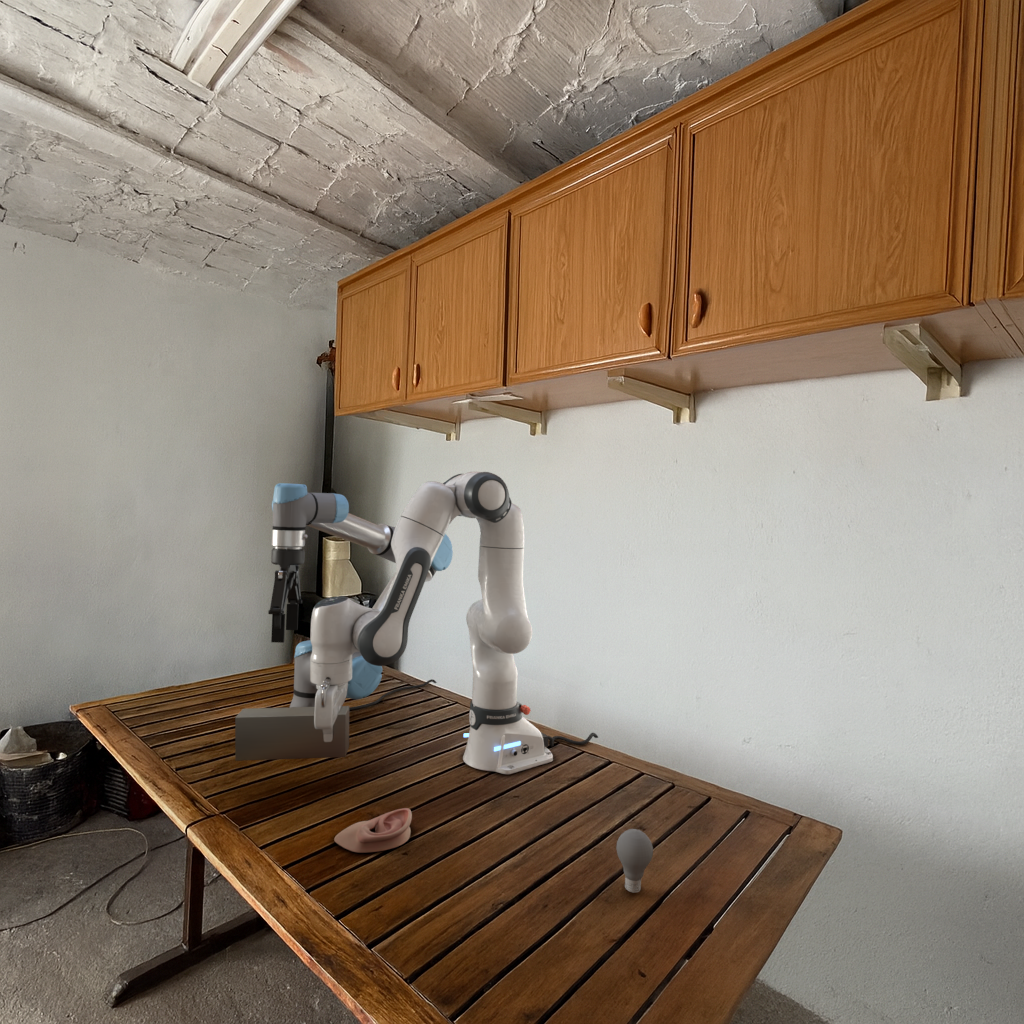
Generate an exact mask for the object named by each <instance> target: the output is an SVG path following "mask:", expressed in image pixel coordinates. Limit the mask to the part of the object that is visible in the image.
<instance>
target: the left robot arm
mask: <svg viewBox="0 0 1024 1024" xmlns="http://www.w3.org/2000/svg"><path fill="white" fill-rule="evenodd" d="M273 489H274V490H273V498H272V501H271V510H272V530H271V546H272V547H273V548H272V549H271V553H270V554H271V555H270V562H271V564H272V565H276V566H277V565H278V566H279V569H278V570H275V571H274V580H273V587H272V594H271V601H270V605H269V609H268V612H267V613H268V615H271V639H270V642H271V643H277V644H278V643H283V644H284V643H285V633H286V631H298V628H299V606H300V605H299V604H303V599H302V595H301V582H300V566H301V565H304V563H305V555H306V554H305V553H306V552H305V551H306V549H304V548H303V547H305V546H306V545H305V544H306V539H308V537H309V536H308V534H307V533H306V529H307V528H306V527H309V528H312V529H315V530H317V531H320V532H323V533H325V534H328V535H331V536H334V537H337V538H339V539H342V540H345V541H347V542H350V543H352V544H356V545H359V546H360V547H363V548H365V549H367V550H368V551H369V553H370V554H373V555H375V556H378V557H380V558H383V559H385V560H387V561H390V562H392V563H394V564H396V560H395V556H394V553H393V551H392V547H391V541H392V537H393V533H394V530H395V527H396V526H391V525H388V524H385V523H378V524H377V523H374V522H371V521H370V520H367V519H365V518H362V517H359V516H356V515H355V514H353V513H350V504H349V501H348V499H347V497H346V496H345V495H343V494H341V493H335V492H328V493H327V492H308V487H307V485H306V484H303V483H286V482H284V483H283V482H278V483H276V484H275V486H274V488H273ZM453 555H454V552H453V544H452V541H451V539H450V538H449V536H448V535H447V533H445V535H444V538H443V540H442V542H441V544H440V546H439V548H438V550H437V552H436V554H435V557H434V559H433V561H432V564H431V566H430V569H429V571H428V574H427V577H426V580H425V583H426V582H427V583H428V582H430V581H432V579H433V578H434V576H435V574H436V572H442V571H445V570H446V569H448V568H449V567H450V566H451V563H452V560H453ZM395 575H396V571H395V572H394V573H393V575H392V577H391V578H390V580H389V581H388V583H387V584H386V586H385V587H384V589H383V591H382V592H381V593H380V595H379V597H378V598H377V599H376V602H375V603H374V605H373V606H372V609H377V610H379V611H381V609H382V607H383V605H384V602H385V600H386V598H387V595H388V593H389V590H390V588H391V586H392V583H393V581H394V578H395ZM285 610H286V613H285ZM294 651H295V652H294V655H293V658H294V672H293V673H294V674H293V695H292V696H293V697H292V699H291V702H290V704H289V707H315V697H316V693H317V691H318V689H317V688H316V684H314V683H312V682H311V681H310V658H311V654H312V644H311V640H310V639H308V640H304V641H300V642H299V643H298V644H297V645H296V646H295V650H294ZM382 673H383V666H376V665H372V664H370V663H368V662H367V661H366V660H365V659H364V658H363V657H362V655H361V653H360V652H355V653H353V655H352V679H351V680H350V681H348V688H347V695H346V699H351V700H362V699H365V698H367V697H369V696H370V695H371V694H373V693H374V692H375V691H376V690H377V688H378V687H379V685H380V683H381V681H382V677H383V675H382ZM430 683H433V684H437V683H438V682H437V681H436V680H435V679H431V678H430V679H429V680H427V681H425V682H424V683H421V684H416V685H409V686H408V685H407V686H403V687H399V688H395V689H391V690H389V691H388V692H386V693H384V694H383V695H381V696H380V697H379V698H378V699H376V700H375V701H372V702H368V703H366V704H362V705H357V706H349V711H353V710H359V709H364V708H368V707H372V706H374V705H376V704H378V703H380V702H381V701H382V700H383V699H384V698H385V697H387V696H390V695H391V694H394V693H397V692H400V691H404V690H405V691H406V690H410V689H417V688H423V687H425V686H427V685H428V684H430Z"/></svg>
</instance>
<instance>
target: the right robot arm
mask: <svg viewBox="0 0 1024 1024" xmlns="http://www.w3.org/2000/svg"><path fill="white" fill-rule="evenodd" d="M509 492H510V491H509V489H508V485H507V484H506V483H505V481H504V479H502V478H501V476H499V475H498V474H495V473H493V472H489V471H468V472H465V473H458V474H455V475H453V476H451V477H450V478H448V479H447V480H446V481H444V482H443V483H442V482H440V481H435V480H434V481H433V480H430V481H429V480H428V481H425V482H423V483H421V484H420V485H419V487H418V488H417V489H416V490H415V492H414V493H413V494H412V496H411V497H410V499H409V500H408V502H407V504H406V505H405V507H404V509H403V510H402V512H401V515H400V517H399V519H398V520H397V523H396V525H395V526H394V527H395V530H394V533H393V537H392V541H391V547H392V551H393V553H394V556H395V560H396V563H395V568H396V569H395V572H396V575H395V578H394V581H393V583H392V586H391V588H390V590H389V593H388V595H387V598H386V600H385V602H384V605H383V607H382V609H381V611H379V610H377V609H372V608H373V607H372V608H371V607H367V606H364V605H362V604H359V603H357V602H355V601H353V600H352V599H351V598H349V597H348V596H345V595H339V596H331V597H327V598H323V599H321V600H320V601H318V602H317V603H316V604H315V605H314V607H313V609H312V612H311V618H310V639H309V640H311V644H312V654H311V658H310V681H311V682H312V683H314V684H316V688H317V689H318V691H317V693H316V697H315V712H314V726H315V729H322V730H323V734H324V742H331V741H332V739H333V725H334V723H335V720H336V718H337V716H338V713H339V711H340V709H341V707H342V706H344V703H345V701H346V699H347V698H346V695H347V688H348V681H350V680H351V679H352V655H353V653H355V652H360V653H361V655H362V657H363V658H364V659H365V660H366V661H367V662H368V663H370V664H372V665H376V666H382V667H385V666H389V665H392V664H393V663H395V662H397V661H398V660H399V659H400V658H401V657H402V656H403V654H404V653H405V652H406V649H407V645H408V639H409V625H410V621H411V618H412V616H413V612H414V611H415V608H416V606H417V603H418V600H419V598H420V595H421V593H422V590H423V589H424V585H425V583H426V582H425V580H426V577H427V574H428V571H429V569H430V566H431V564H432V561H433V559H434V557H435V554H436V552H437V550H438V548H439V546H440V544H441V542H442V540H443V538H444V535H445V534H447V531H448V528H449V526H450V525H451V523H452V522H453V521H454V519H456V518H457V517H463V518H469V519H476V520H477V523H478V525H479V530H480V531H479V532H480V536H479V537H480V538H479V545H478V546H479V547H478V548H479V549H478V567H477V579H478V583H479V585H480V591H481V597H482V598H481V599H478V600H476V601H474V602H473V603H472V604H471V605H470V607H469V608H468V610H467V612H466V617H465V618H466V619H465V620H466V625H467V628H468V635H469V645H470V653H471V654H470V655H471V661H472V690H471V692H472V693H471V694H472V696H471V697H472V698H471V701H470V702H469V715H468V719H469V721H468V722H469V731H468V732H467V733H463V738H467V742H466V746H465V750H464V753H463V756H462V760H463V763H465V765H467V766H469V767H471V768H474V769H477V770H480V771H487V772H495V773H499V774H502V775H513V774H515V773H518V772H522V771H525V770H529V769H532V768H535V767H539V766H541V765H546V764H548V763H552V762H553V761H554V755H553V753H552V751H551V750H550V749H549V748H548V747H550V748H552V747H554V741H558V740H559V741H562V742H566V743H569V744H571V745H575V746H584V745H587V744H588V743H590V741H591V740H592V739H593V738H595V739H598V738H599V736H598V734H597V733H595V732H591V733H590V734H588V737H587V738H586V739H584V740H581V741H579V740H574V739H570V738H568V737H565V736H563V735H562V736H561V735H555V736H551V735H548V734H545V733H544V732H543V731H540V730H539V728H537V727H536V726H535V725H534V724H533V723H531V722H530V721H529V720H528V719H526V718H525V717H524V716H523V715H525V716H528V715H530V713H531V712H532V711H531V708H530V706H528V705H526V704H523V703H521V702H520V701H518V700H517V698H518V681H519V680H518V679H519V678H518V676H519V671H518V668H517V666H516V660H515V658H514V654H518V653H521V652H523V651H524V650H525V649H526V648H528V647H529V645H530V644H531V641H532V638H533V626H532V622H531V621H530V618H529V615H528V610H527V609H528V608H527V601H526V593H525V589H524V558H525V525H524V516H523V512H522V509H521V508H520V507H519V506H518V505H516V504H515V503H513V502H512V499H511V497H510V493H509Z"/></svg>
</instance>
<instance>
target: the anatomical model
mask: <svg viewBox="0 0 1024 1024" xmlns="http://www.w3.org/2000/svg"><path fill="white" fill-rule="evenodd" d="M412 819H413V813H412V811H411V809H410V808H408V807H404V808H398V809H395V810H392V811H388V812H385V813H384V814H380V815H379V816H377V817H374V818H372V819H369V820H362V821H358V822H354V823H353V824H351V825H348V826H347V827H346V828H344V829H341V831H340V832H338V833H337V834H336V835H335V837H334V839H333V840H334V842H335V843H336V844H337V845H338V846H339V847H341V848H343V849H346V850H348V851H350V852H353V853H359V854H364V853H376V852H383V851H387V850H391V849H395V848H398V847H399V846H402V845H404V844H405V843H406V842H408V841H409V840H410V838H411V833H412V831H411V827H410V825H411V824H412Z"/></svg>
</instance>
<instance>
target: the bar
mask: <svg viewBox="0 0 1024 1024" xmlns="http://www.w3.org/2000/svg"><path fill="white" fill-rule="evenodd" d="M349 707H350V705H342V707H341V709H340V711H339V713H338V716H337V718H336V720H335V723H334V725H333V739H332V741H331V742H324V734H323V730H322V729H315V726H314V712H315V707H290V706H289V707H255V708H254V707H252V708H250V707H249V708H242V709H241V711H240V712H238V714H237V715H236V716H235V718H234V719H235V720H234V721H235V722H234V723H235V729H234V730H235V731H234V732H235V733H234V736H235V740H234V742H235V743H234V745H235V746H234V748H235V750H234V751H235V753H234V754H235V755H234V758H235V759H234V761H236V762H237V761H238V762H240V761H267V760H268V761H270V760H297V759H298V760H300V759H329V758H330V759H332V758H346V756H347V754H348V751H349V748H350V710H349Z"/></svg>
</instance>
